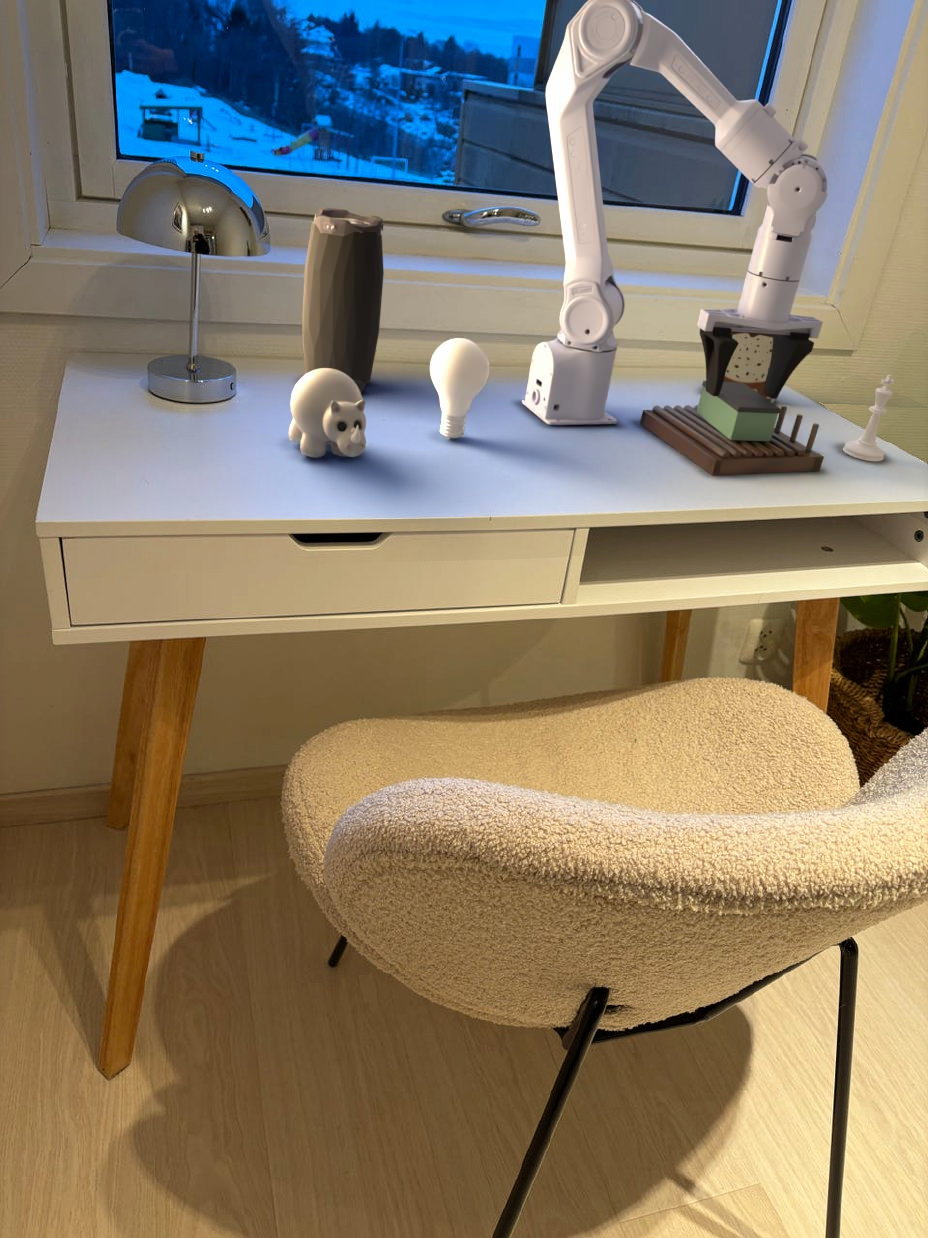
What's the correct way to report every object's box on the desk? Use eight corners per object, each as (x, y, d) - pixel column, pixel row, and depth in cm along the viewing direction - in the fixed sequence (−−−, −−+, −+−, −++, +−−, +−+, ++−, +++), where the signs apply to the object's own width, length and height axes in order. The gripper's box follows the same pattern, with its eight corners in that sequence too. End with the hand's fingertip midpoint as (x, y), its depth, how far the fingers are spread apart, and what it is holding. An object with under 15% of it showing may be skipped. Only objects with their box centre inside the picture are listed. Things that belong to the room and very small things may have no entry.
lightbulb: (488, 437, 114) (502, 340, 108) (465, 453, 108) (478, 352, 103) (437, 423, 115) (449, 327, 110) (412, 438, 110) (423, 338, 105)
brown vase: (385, 384, 125) (401, 218, 116) (347, 402, 118) (360, 226, 108) (326, 367, 128) (336, 203, 118) (285, 384, 120) (292, 211, 111)
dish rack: (711, 475, 112) (723, 432, 110) (639, 423, 125) (648, 384, 122) (819, 470, 118) (833, 430, 115) (740, 422, 130) (750, 384, 128)
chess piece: (834, 447, 126) (859, 368, 121) (864, 445, 128) (890, 368, 123) (861, 462, 122) (889, 381, 117) (892, 460, 124) (920, 381, 119)
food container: (775, 392, 145) (796, 321, 140) (783, 405, 139) (805, 332, 134) (690, 379, 145) (707, 308, 140) (694, 391, 140) (712, 319, 135)
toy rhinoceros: (316, 485, 96) (321, 399, 92) (279, 439, 105) (282, 358, 101) (386, 481, 99) (394, 397, 95) (345, 436, 108) (350, 357, 104)
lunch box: (729, 440, 115) (739, 406, 113) (695, 412, 123) (703, 380, 121) (771, 441, 117) (781, 408, 115) (734, 414, 125) (743, 382, 122)
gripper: (811, 271, 116) (778, 386, 123) (698, 261, 113) (670, 380, 119) (845, 286, 111) (808, 405, 117) (727, 276, 107) (696, 401, 114)
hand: (741, 394), depth 118 cm, fingers open, 7 cm apart
